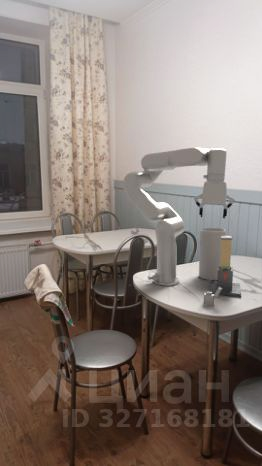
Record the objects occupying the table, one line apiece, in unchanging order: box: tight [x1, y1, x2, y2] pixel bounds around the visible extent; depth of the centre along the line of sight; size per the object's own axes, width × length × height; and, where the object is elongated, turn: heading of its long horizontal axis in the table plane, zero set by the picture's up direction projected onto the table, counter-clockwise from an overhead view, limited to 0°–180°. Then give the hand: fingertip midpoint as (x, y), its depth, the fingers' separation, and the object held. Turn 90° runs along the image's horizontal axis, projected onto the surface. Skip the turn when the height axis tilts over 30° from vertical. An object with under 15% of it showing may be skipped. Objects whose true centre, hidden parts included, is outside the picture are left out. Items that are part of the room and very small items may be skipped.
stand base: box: [207, 266, 242, 298], centre depth 154 cm, size 14×14×11 cm
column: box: [220, 235, 233, 270], centre depth 152 cm, size 5×5×17 cm
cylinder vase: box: [198, 227, 227, 281], centre depth 172 cm, size 12×12×25 cm
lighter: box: [202, 287, 222, 307], centre depth 138 cm, size 7×2×8 cm, turn 61°
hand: (212, 217), depth 148 cm, fingers open, 9 cm apart
